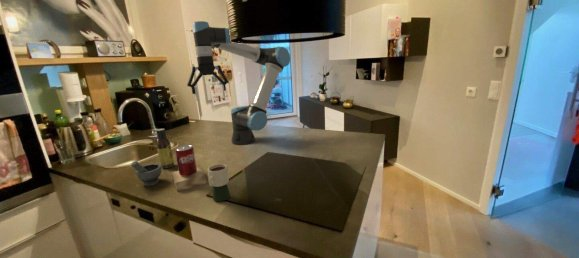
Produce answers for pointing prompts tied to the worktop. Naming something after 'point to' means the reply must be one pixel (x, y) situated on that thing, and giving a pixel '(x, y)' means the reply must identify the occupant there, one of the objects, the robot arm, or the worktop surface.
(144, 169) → the mortar and pestle
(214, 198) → the character mug
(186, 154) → the soda can
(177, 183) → the oak block
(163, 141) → the sauce bottle
